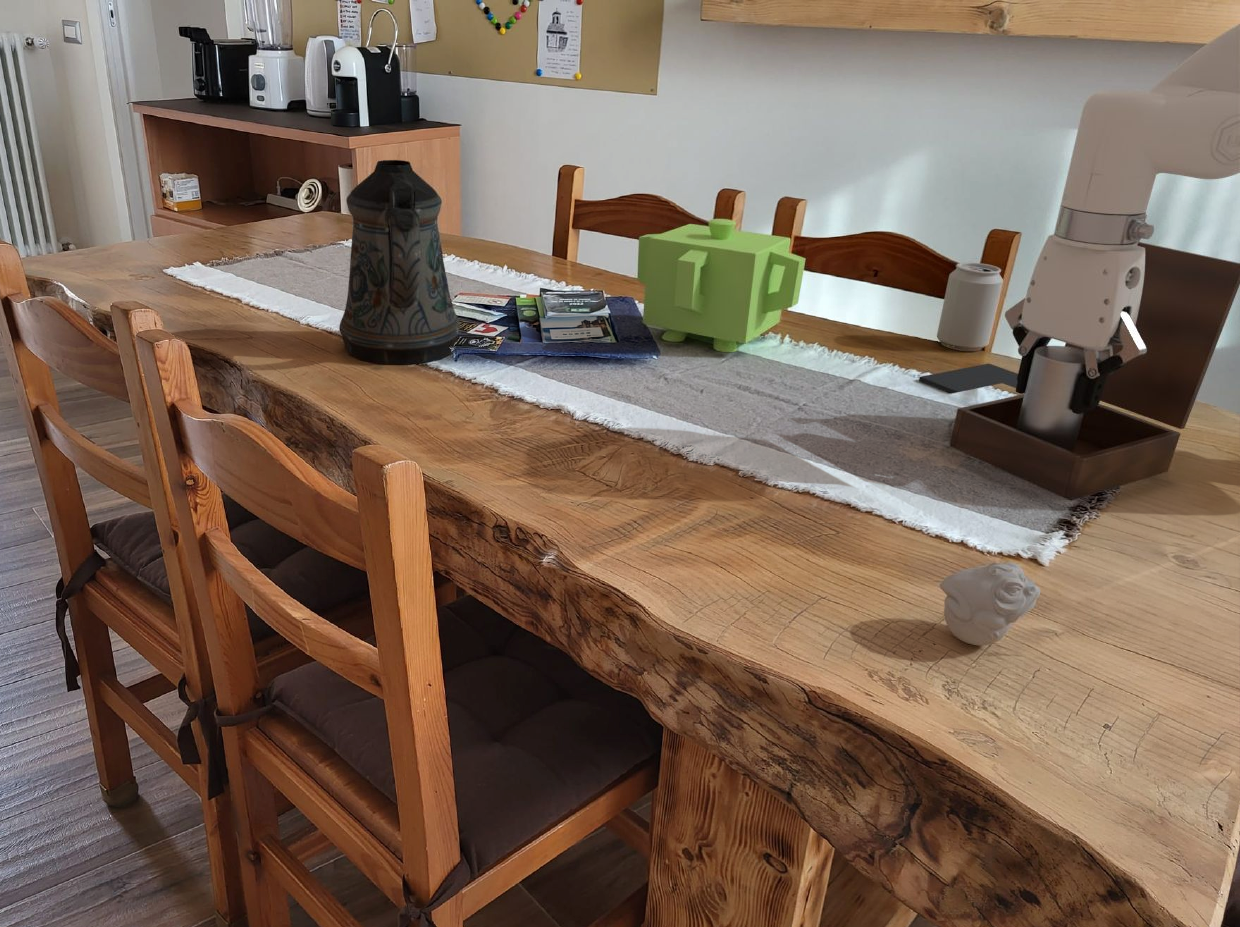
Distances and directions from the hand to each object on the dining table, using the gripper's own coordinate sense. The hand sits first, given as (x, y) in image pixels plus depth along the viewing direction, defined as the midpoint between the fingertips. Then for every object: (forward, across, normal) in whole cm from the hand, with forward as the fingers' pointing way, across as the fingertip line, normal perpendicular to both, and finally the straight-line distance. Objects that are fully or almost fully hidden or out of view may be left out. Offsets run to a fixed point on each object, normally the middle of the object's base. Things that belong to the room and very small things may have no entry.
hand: (1054, 399), depth 106 cm
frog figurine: (+8, -20, +34) cm, 40 cm away
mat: (+8, +20, -18) cm, 29 cm away
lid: (-6, 0, -12) cm, 14 cm away
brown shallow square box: (+8, 0, -4) cm, 9 cm away
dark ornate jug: (+7, +67, +46) cm, 82 cm away
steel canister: (+5, 0, 0) cm, 5 cm away
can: (+9, +36, -30) cm, 48 cm away
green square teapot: (+8, +55, +2) cm, 56 cm away
